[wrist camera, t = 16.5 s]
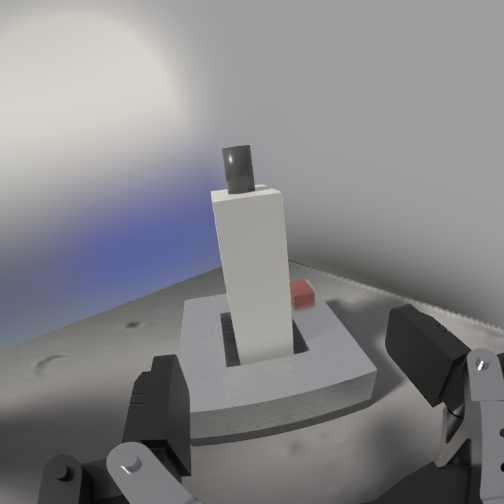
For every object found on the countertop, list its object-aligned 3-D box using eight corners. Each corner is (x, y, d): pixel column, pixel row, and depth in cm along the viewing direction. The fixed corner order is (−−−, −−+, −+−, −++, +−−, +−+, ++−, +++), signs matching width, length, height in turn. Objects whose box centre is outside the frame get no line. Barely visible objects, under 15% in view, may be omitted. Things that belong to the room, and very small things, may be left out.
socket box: (192, 446, 16) (170, 405, 14) (193, 331, 30) (183, 293, 28) (368, 406, 17) (379, 361, 16) (308, 310, 31) (306, 272, 30)
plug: (244, 384, 20) (205, 149, 15) (236, 344, 26) (205, 152, 20) (294, 374, 21) (276, 141, 15) (278, 336, 26) (258, 145, 20)
